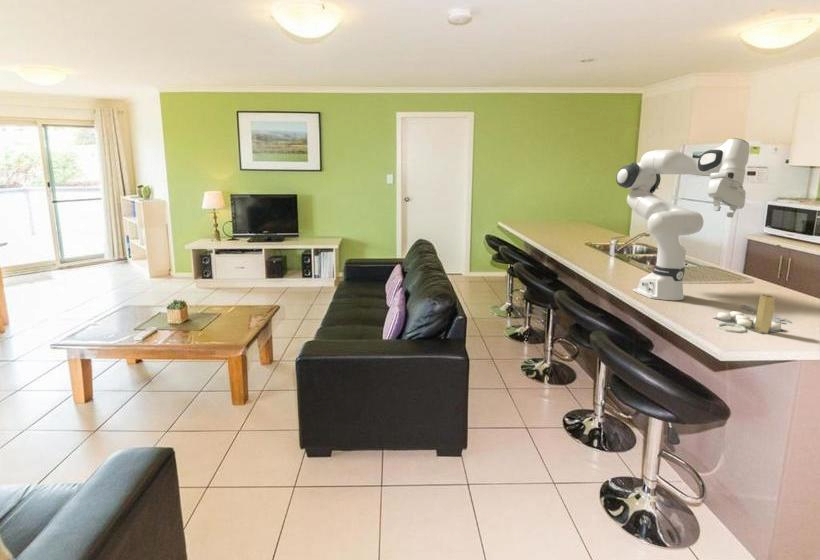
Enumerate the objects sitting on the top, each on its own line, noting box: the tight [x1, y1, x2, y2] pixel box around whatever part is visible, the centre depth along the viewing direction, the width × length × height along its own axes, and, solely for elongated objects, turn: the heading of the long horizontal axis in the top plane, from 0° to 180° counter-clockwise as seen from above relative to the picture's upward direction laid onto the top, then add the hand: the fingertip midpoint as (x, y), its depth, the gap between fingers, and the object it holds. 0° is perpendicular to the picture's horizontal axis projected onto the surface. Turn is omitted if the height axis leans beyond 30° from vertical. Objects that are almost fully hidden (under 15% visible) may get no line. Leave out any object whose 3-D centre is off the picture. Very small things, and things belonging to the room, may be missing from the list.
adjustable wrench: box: [740, 304, 793, 325], centre depth 198 cm, size 25×6×2 cm, turn 177°
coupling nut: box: [754, 294, 777, 335], centre depth 176 cm, size 4×5×13 cm
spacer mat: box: [712, 310, 787, 335], centre depth 185 cm, size 20×12×3 cm, turn 19°
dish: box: [715, 322, 747, 334], centre depth 180 cm, size 9×9×2 cm
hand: (723, 214), depth 194 cm, fingers open, 8 cm apart
